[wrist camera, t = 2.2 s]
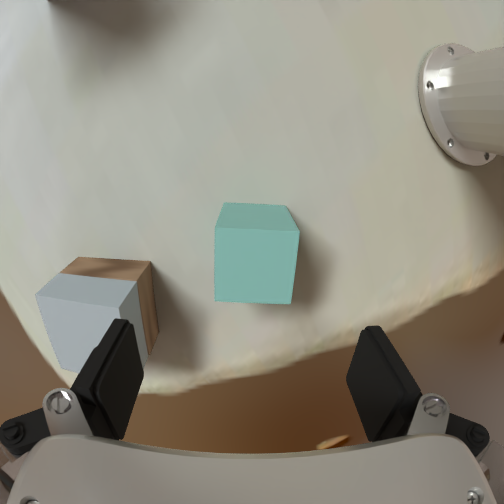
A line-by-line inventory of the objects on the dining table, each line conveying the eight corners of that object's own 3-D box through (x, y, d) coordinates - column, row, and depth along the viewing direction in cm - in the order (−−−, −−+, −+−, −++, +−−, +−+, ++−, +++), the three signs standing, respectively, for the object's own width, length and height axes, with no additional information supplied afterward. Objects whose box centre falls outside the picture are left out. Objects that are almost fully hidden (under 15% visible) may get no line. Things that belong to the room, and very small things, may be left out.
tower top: (136, 281, 22) (118, 307, 18) (148, 355, 25) (136, 385, 21) (59, 272, 22) (34, 294, 18) (77, 343, 25) (61, 368, 21)
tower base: (151, 260, 26) (137, 279, 22) (159, 330, 28) (149, 355, 25) (79, 255, 25) (59, 273, 22) (94, 321, 28) (79, 343, 25)
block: (285, 205, 24) (299, 231, 17) (280, 261, 25) (290, 304, 19) (224, 202, 23) (214, 227, 17) (222, 259, 25) (214, 301, 19)
